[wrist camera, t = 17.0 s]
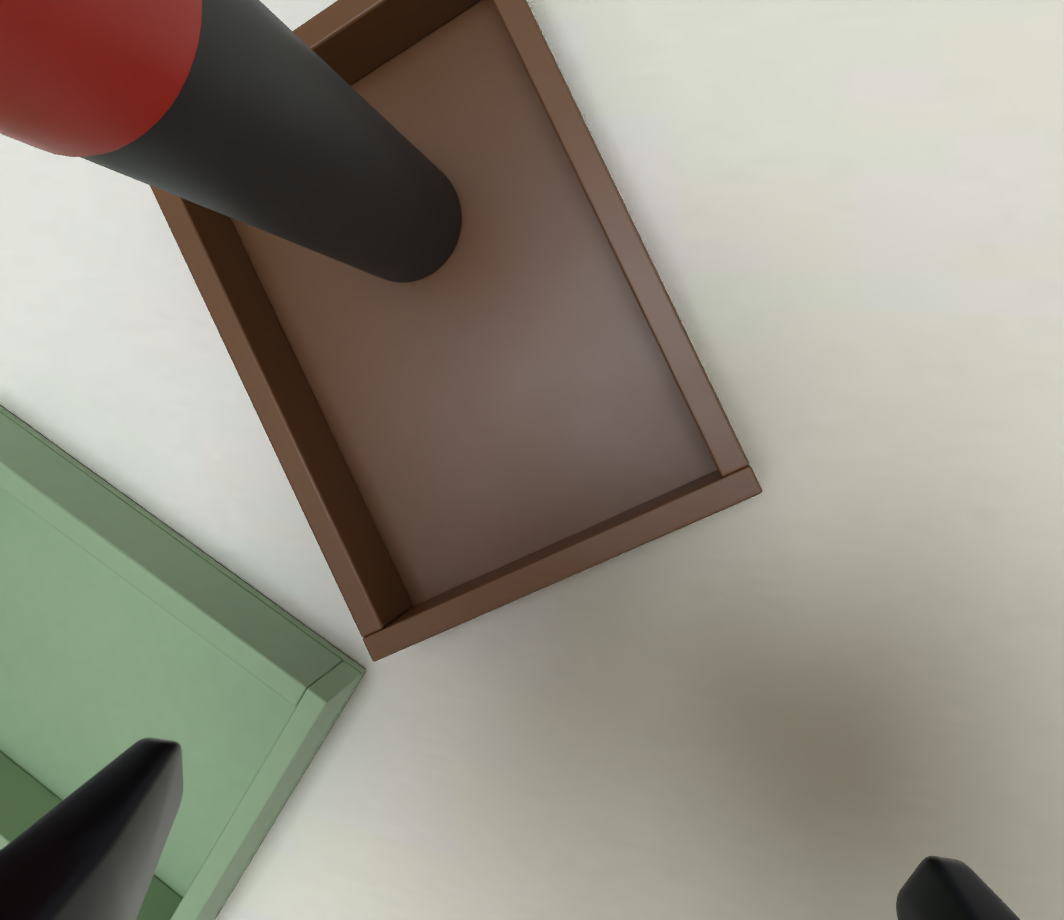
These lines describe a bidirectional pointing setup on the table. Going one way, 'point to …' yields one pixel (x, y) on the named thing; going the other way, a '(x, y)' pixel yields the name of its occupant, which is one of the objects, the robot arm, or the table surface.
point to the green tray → (147, 671)
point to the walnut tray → (470, 342)
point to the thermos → (226, 124)
